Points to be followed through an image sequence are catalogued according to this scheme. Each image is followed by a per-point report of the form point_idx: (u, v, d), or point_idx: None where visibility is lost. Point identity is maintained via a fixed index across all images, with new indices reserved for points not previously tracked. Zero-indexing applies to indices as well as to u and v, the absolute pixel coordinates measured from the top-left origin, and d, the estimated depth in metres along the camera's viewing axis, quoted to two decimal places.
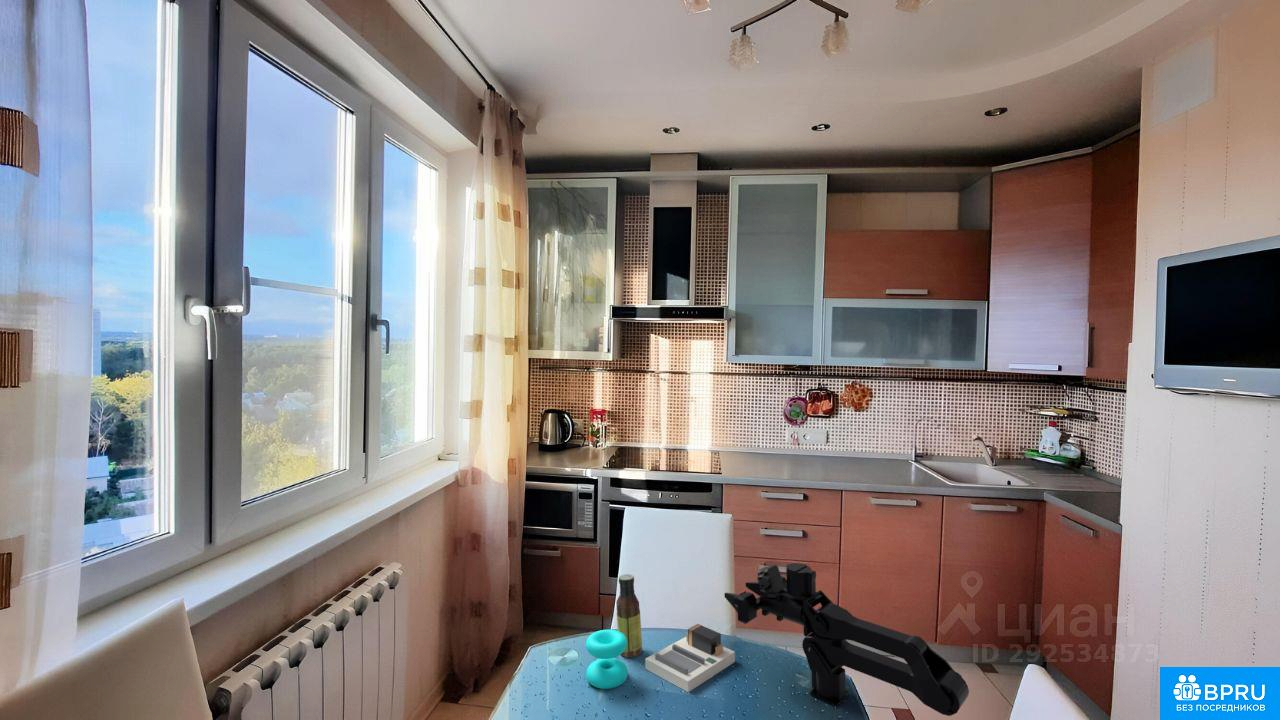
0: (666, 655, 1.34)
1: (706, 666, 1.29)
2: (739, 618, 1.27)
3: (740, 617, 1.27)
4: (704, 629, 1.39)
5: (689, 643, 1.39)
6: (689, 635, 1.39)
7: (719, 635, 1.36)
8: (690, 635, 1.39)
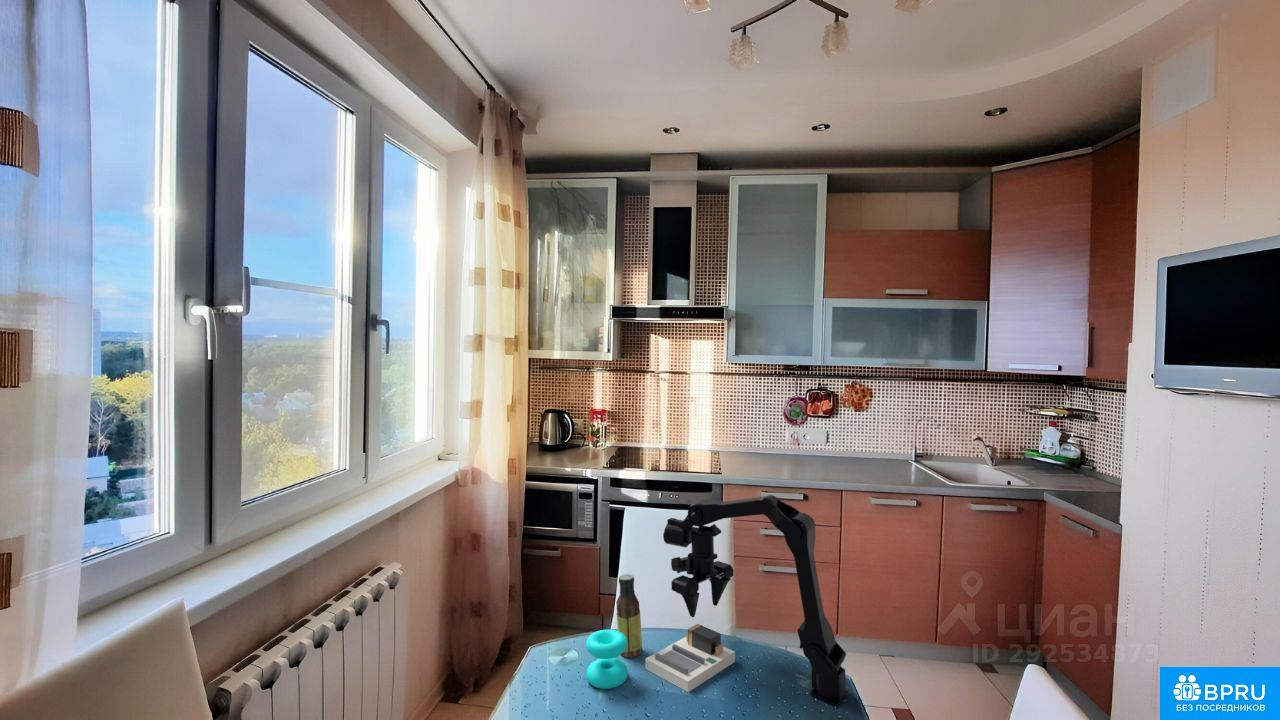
0: (666, 655, 1.34)
1: (706, 666, 1.29)
2: (685, 593, 1.30)
3: (684, 591, 1.31)
4: (704, 629, 1.39)
5: (689, 643, 1.39)
6: (689, 635, 1.39)
7: (719, 635, 1.36)
8: (690, 635, 1.39)
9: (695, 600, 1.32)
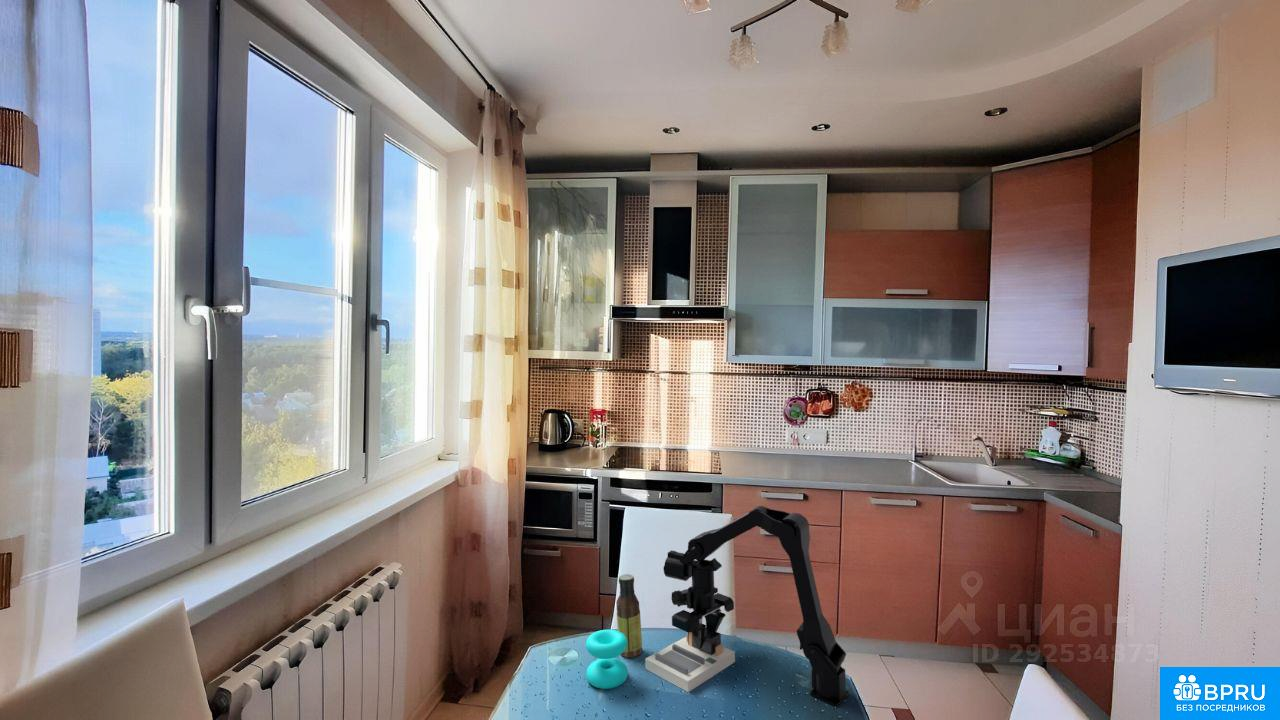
0: (666, 655, 1.34)
1: (706, 666, 1.29)
2: (685, 629, 1.30)
3: (684, 627, 1.30)
4: None
5: (689, 643, 1.39)
6: (689, 635, 1.39)
7: (719, 635, 1.36)
8: (690, 635, 1.39)
9: (702, 632, 1.34)
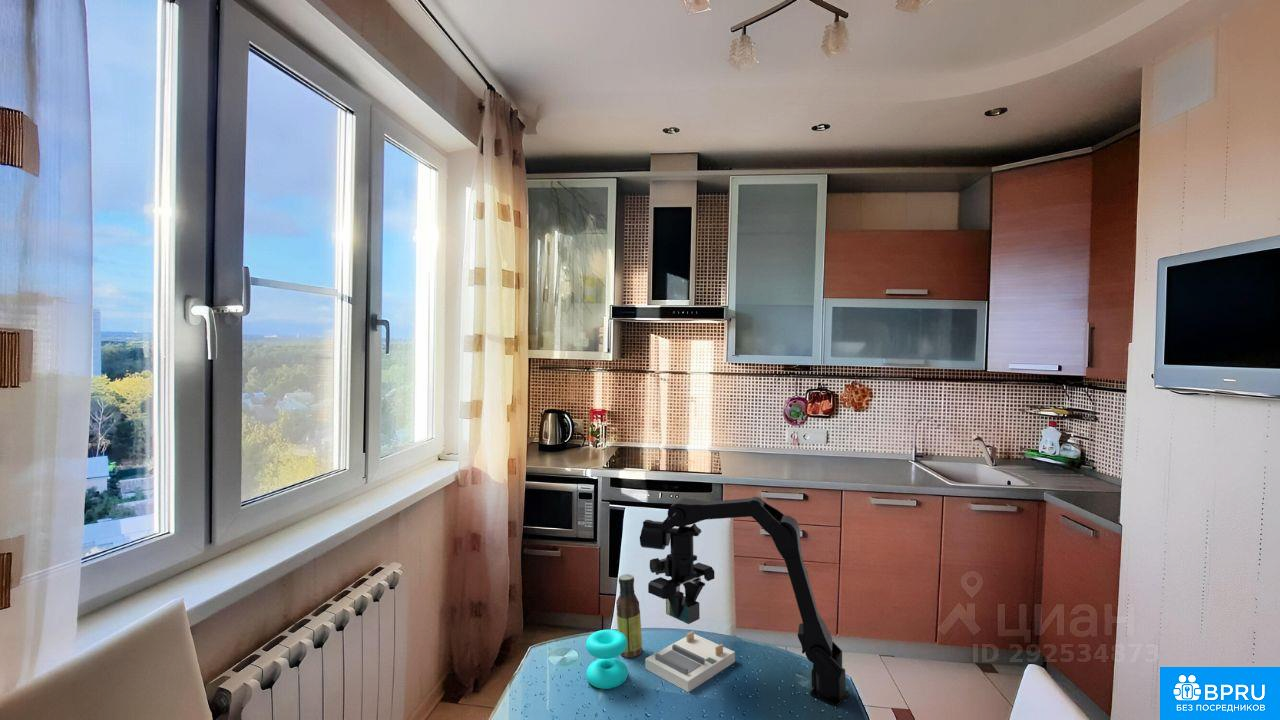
0: (666, 655, 1.34)
1: (706, 666, 1.29)
2: (661, 596, 1.25)
3: (660, 594, 1.26)
4: (683, 598, 1.34)
5: (667, 612, 1.34)
6: (667, 604, 1.34)
7: (698, 604, 1.31)
8: (668, 604, 1.34)
9: (679, 600, 1.29)
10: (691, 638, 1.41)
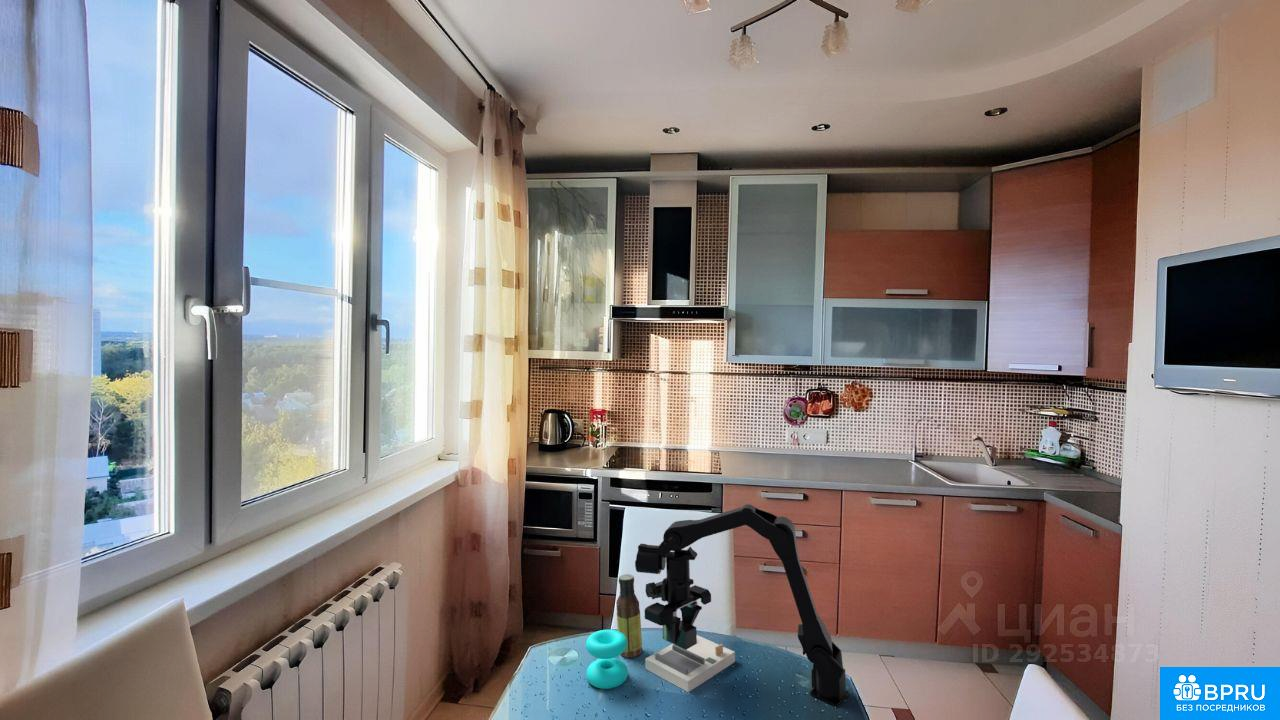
0: (666, 655, 1.34)
1: (706, 666, 1.29)
2: (658, 622, 1.24)
3: (657, 620, 1.24)
4: None
5: (664, 637, 1.32)
6: (663, 629, 1.33)
7: (695, 629, 1.30)
8: (665, 629, 1.32)
9: (676, 626, 1.27)
10: None
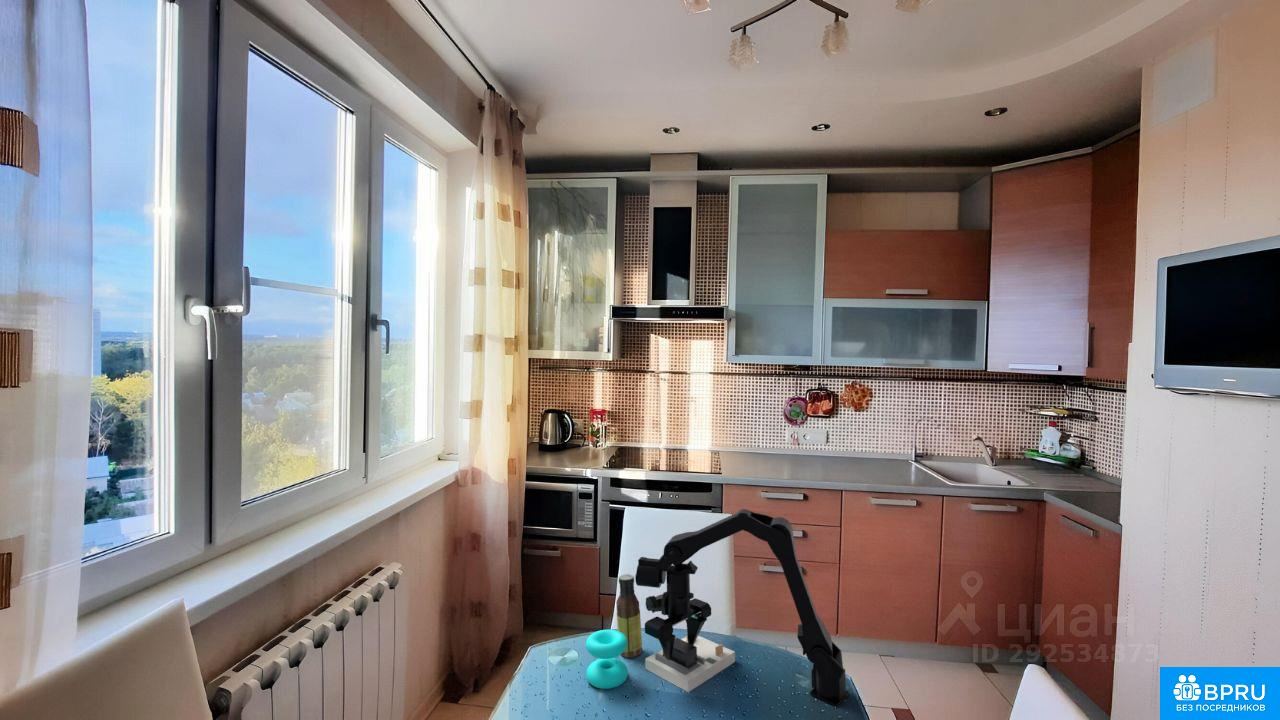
0: None
1: (706, 666, 1.29)
2: (658, 637, 1.24)
3: (657, 635, 1.24)
4: (680, 642, 1.32)
5: None
6: None
7: (695, 648, 1.30)
8: None
9: (671, 643, 1.26)
10: None
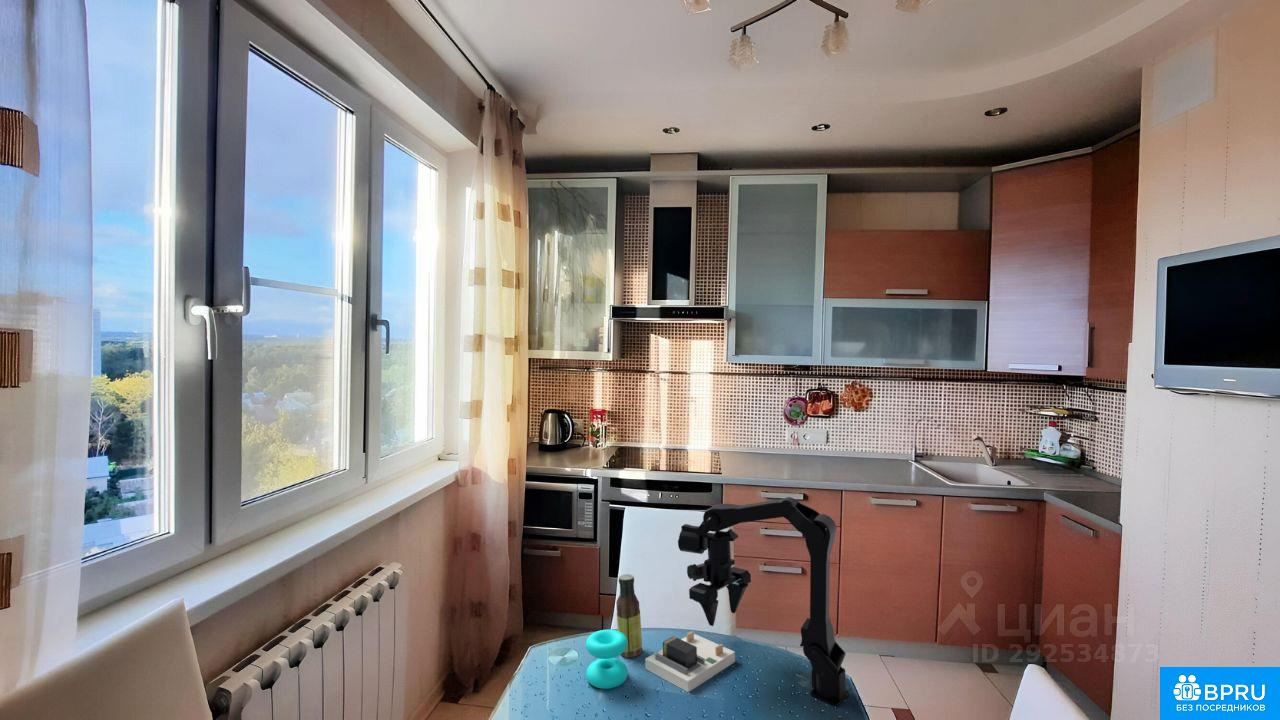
0: None
1: (706, 666, 1.29)
2: (704, 601, 1.26)
3: (703, 599, 1.27)
4: (680, 642, 1.32)
5: None
6: (663, 648, 1.33)
7: (695, 648, 1.30)
8: (665, 648, 1.32)
9: (714, 608, 1.28)
10: (691, 638, 1.41)
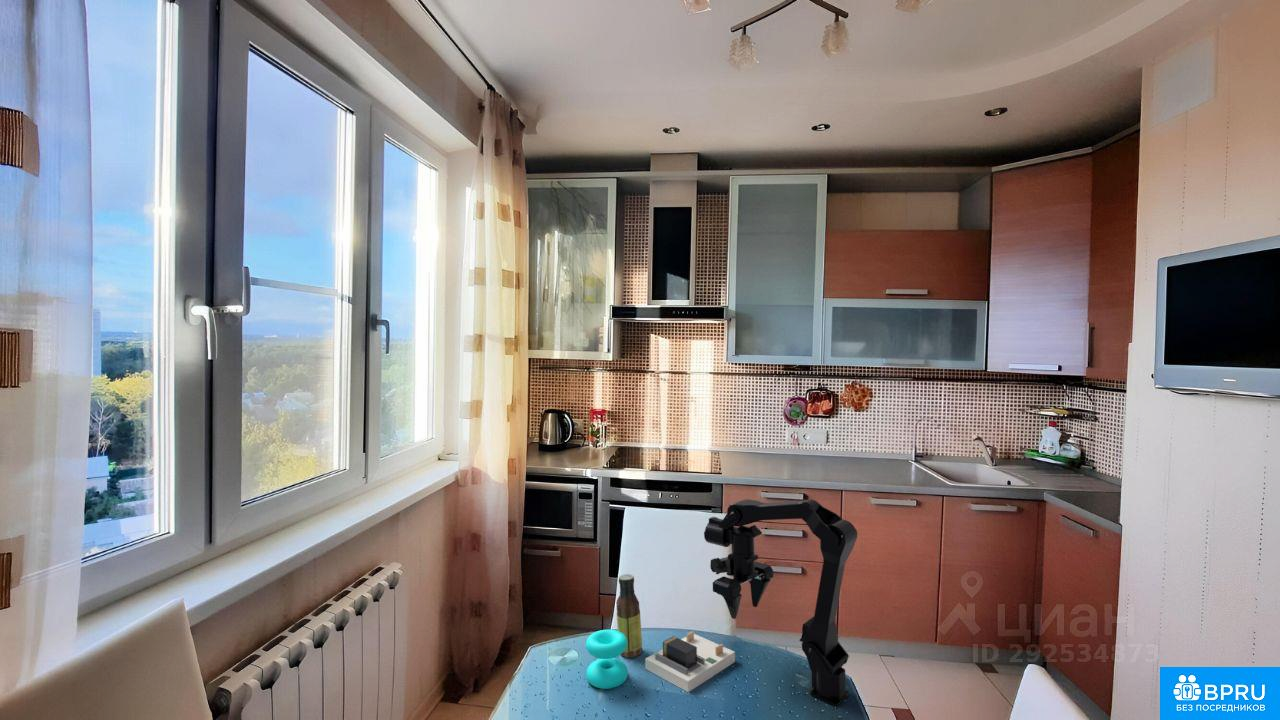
0: None
1: (706, 666, 1.29)
2: (727, 594, 1.28)
3: (726, 593, 1.29)
4: (680, 642, 1.32)
5: None
6: (663, 648, 1.33)
7: (695, 648, 1.30)
8: (665, 648, 1.32)
9: (737, 601, 1.30)
10: (691, 638, 1.41)
